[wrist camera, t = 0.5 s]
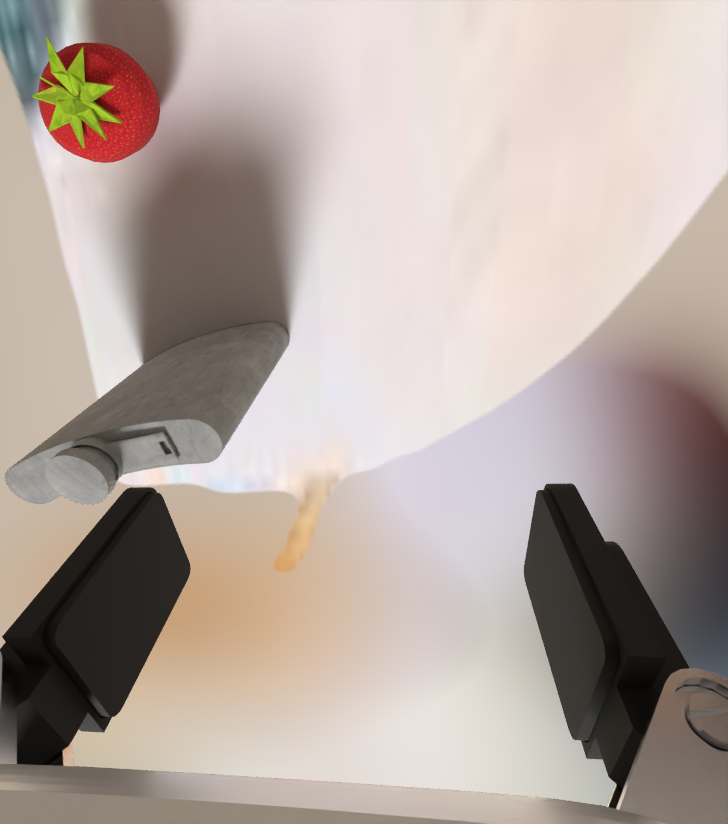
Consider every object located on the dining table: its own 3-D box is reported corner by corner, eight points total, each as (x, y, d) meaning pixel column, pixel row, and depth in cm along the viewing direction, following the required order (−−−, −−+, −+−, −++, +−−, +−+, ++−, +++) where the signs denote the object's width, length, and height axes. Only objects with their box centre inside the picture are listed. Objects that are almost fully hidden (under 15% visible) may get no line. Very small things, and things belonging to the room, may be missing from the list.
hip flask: (155, 390, 44) (-3, 536, 27) (132, 356, 42) (-52, 487, 25) (294, 348, 41) (215, 483, 23) (276, 308, 39) (177, 423, 22)
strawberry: (79, 98, 32) (-41, 74, 23) (156, 39, 30) (56, -12, 21) (132, 179, 34) (41, 185, 26) (206, 130, 32) (135, 118, 24)
